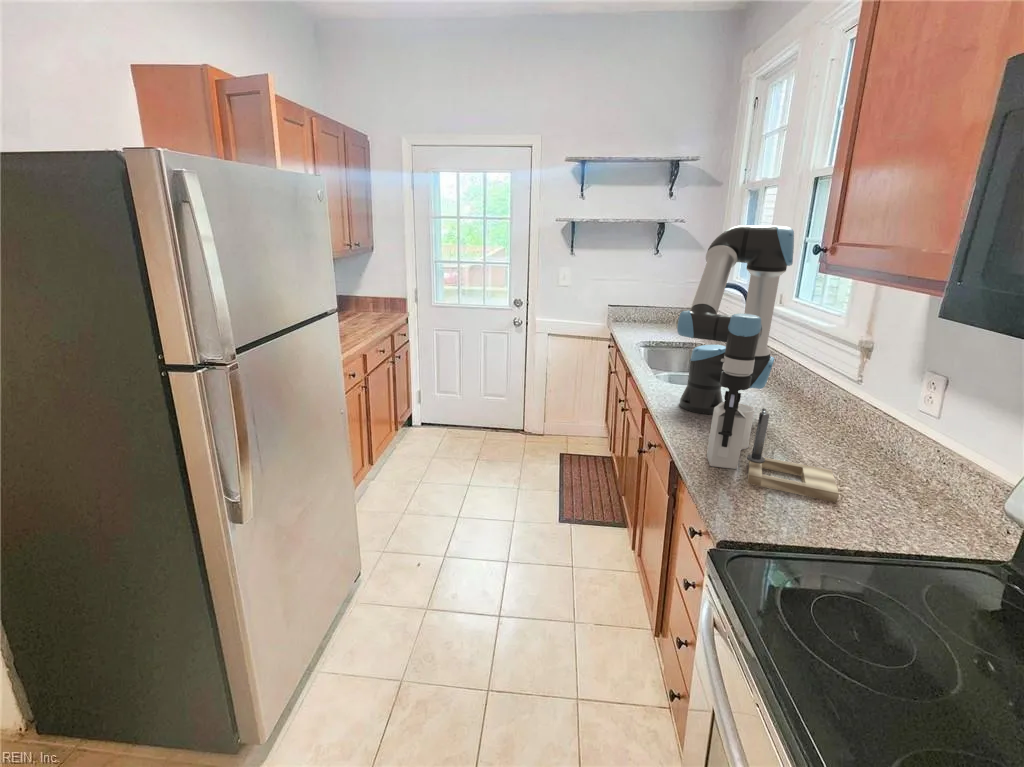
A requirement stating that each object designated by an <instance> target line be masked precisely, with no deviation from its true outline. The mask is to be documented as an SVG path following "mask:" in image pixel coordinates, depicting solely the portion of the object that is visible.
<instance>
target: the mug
mask: <svg viewBox="0 0 1024 767" xmlns="http://www.w3.org/2000/svg"><path fill="white" fill-rule="evenodd" d="M738 408H739V409H740V410H741V411H742V413H743V415H744V416H745V418H746V423H745V429H744V434H743V440H742V445H741V450H747V449H748V448H749V447H750V443H749V442H750V438H751V432H752V426H753V420H754V417H755V416H754V415H755V410H756V409H755V407H752V406H751V405H748V404H745V403H739V404H738Z"/></svg>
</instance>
